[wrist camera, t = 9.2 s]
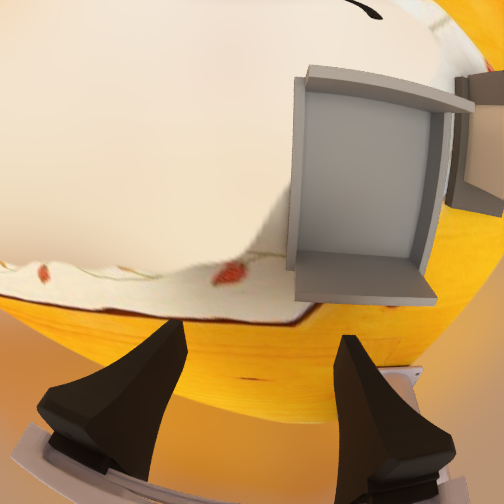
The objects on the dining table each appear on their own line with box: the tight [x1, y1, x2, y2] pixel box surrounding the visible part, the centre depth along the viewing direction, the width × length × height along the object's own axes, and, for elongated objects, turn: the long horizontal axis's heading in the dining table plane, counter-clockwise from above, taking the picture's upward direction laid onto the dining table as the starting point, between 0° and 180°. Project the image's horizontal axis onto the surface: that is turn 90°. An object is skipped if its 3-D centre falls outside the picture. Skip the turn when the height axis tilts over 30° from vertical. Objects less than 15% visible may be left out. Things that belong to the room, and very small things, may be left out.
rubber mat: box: [445, 76, 504, 218], centre depth 14 cm, size 10×6×1 cm, turn 179°
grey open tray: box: [286, 65, 475, 306], centre depth 15 cm, size 12×10×6 cm
